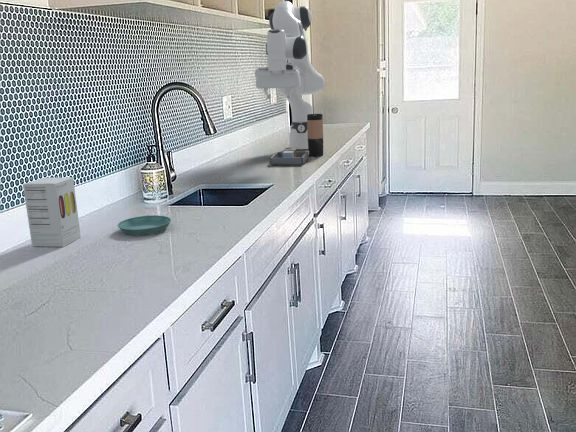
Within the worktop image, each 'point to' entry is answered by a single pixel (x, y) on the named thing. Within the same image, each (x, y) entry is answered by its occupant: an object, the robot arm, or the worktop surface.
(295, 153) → the walnut block
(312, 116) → the travel mug
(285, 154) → the slate block
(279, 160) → the charcoal tray
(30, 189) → the supplement box
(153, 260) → the worktop surface
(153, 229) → the saucer
